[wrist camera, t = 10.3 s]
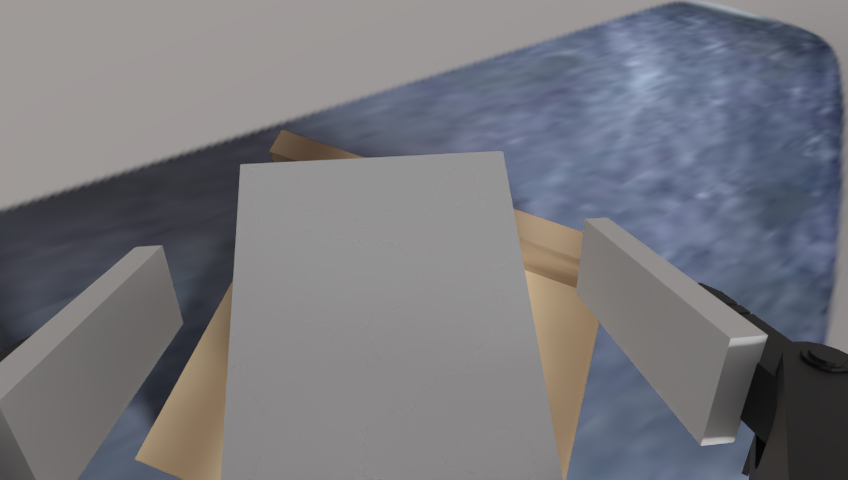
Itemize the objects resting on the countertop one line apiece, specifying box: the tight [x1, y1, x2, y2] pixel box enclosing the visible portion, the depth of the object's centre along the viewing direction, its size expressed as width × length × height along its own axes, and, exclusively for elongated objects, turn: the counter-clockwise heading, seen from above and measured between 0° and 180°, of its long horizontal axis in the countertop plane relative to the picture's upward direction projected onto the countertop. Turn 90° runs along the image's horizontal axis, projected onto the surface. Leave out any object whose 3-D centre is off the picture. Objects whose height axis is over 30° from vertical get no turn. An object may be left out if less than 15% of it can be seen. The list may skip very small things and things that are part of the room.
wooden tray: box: [135, 130, 599, 480], centre depth 20 cm, size 16×14×6 cm
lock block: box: [221, 151, 563, 480], centre depth 14 cm, size 6×8×11 cm
